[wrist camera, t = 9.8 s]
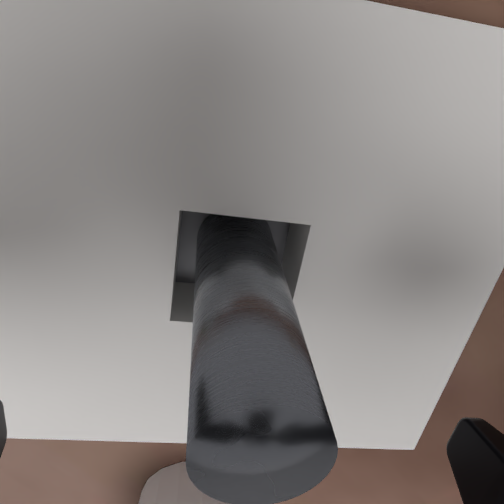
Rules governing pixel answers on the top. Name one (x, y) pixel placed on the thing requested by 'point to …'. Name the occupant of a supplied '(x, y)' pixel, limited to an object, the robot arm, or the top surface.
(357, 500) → the top surface
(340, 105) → the bore board
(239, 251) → the steel pin
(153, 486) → the white cup
